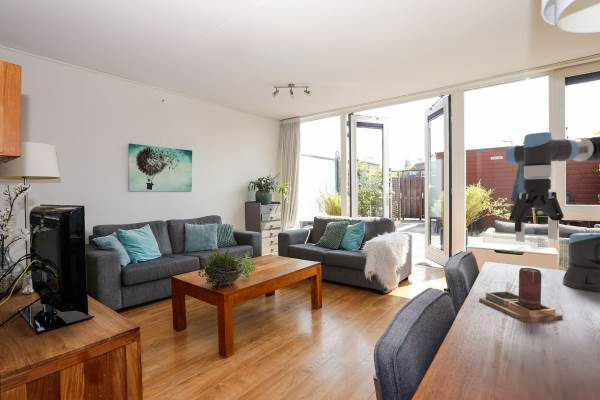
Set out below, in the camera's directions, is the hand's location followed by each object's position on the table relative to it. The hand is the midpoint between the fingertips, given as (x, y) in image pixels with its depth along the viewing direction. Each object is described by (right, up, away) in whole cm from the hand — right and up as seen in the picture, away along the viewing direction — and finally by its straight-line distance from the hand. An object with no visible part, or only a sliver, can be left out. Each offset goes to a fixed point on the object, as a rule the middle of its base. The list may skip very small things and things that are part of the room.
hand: (536, 240), depth 111 cm
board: (-5, -24, +2) cm, 25 cm away
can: (-4, -24, -3) cm, 24 cm away
